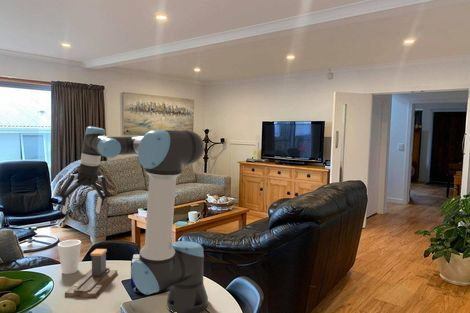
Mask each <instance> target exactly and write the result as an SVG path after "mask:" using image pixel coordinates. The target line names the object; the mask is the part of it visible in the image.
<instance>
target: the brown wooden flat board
mask: <svg viewBox="0 0 470 313" xmlns="http://www.w3.org/2000/svg"><path fill="white" fill-rule="evenodd" d="M117 274H118V270H116V269H110V267H106V272H105V273H104V274H103V275H102V276H92V268H91V269H89V270H88V271H87V272H86V273H85V274H84V275H83V276H81V277H80V278H79V279H78V280H77V281H76V282H75V283H74V284H73V285H71V287H69V288H68V289H67V290H66V291H64V297H73V298H96V297H97V296H98V295H99V294H100V293H101V292H102V291H103V290H104V289H105V288H106V287H107V285H108V284H110V282H111V281H112V280H113V279H114V277H116V275H117Z"/></svg>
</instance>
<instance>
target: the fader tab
mask: <svg viewBox="0 0 470 313" xmlns="http://www.w3.org/2000/svg"><path fill="white" fill-rule="evenodd" d="M107 250H108V249H107V248H95V249H94V250H93V251H91V253H90V257H91V269H92V276H102V275H103V274H104V273H105V272H106V268H107V252H108V251H107Z"/></svg>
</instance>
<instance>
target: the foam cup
mask: <svg viewBox="0 0 470 313" xmlns="http://www.w3.org/2000/svg"><path fill="white" fill-rule="evenodd" d="M81 248H82V241H81V240H80V239H67V240H63V241H60V242H58V243H57V250H58V251H57V252H58V257H59V261H60V262H59V263H60V267H61V273H62V274H64V275H70V274H74V273H76V271H77V270H79V265H80V264H79V263H80V257H81V256H80V254H81ZM77 272H78V271H77Z"/></svg>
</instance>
